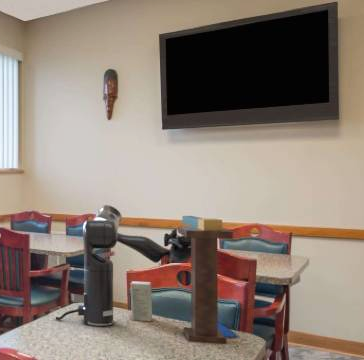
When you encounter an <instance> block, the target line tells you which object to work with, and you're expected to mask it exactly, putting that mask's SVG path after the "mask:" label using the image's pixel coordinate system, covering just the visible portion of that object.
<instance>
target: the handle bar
mask: <svg viewBox="0 0 364 360" xmlns="http://www.w3.org/2000/svg"><path fill="white" fill-rule="evenodd" d="M181 218H182V221H181V223H182V224H183V225H185V226H193V227H197V228H198V229H201V230H206V231H222V228H223V220H222V219H219V218H203V217H198V216H193V215H182V217H181Z"/></svg>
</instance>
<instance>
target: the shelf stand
mask: <svg viewBox="0 0 364 360" xmlns="http://www.w3.org/2000/svg"><path fill="white" fill-rule="evenodd" d="M177 234H180V236H185V237H186V238H191V258H190V327H187V326H186V327H185V326H184V327H183V328H182V329H183V330H182V331H183V332H182V333H183V334H184V336H185V338H186V339H187V340H188V342H200V343H214V344H215V343H216V344H227V337H225V336H224V335H223V334H222V332H221V331H220V330H219V329H218V322H219V321H218V320H219V315H218V314H219V313H218V311H219V309H218V308H219V307H218V305H219V302H218V301H219V300H218V299H219V298H218V293H219V291H218V287H219V285H218V281H219V280H218V275H219V274H218V269H219V268H218V261H219V259H218V255H219V254H218V250H219V249H218V242H219V241H218V239H221V240H222V239H223V240H227V239H228V240H233V239H234V232H233V230H230V229H227V228H224V227H222V231H206V230H201V229H198V228H197V227H193V226H190V225H178V226H177Z"/></svg>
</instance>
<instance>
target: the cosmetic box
mask: <svg viewBox="0 0 364 360" xmlns="http://www.w3.org/2000/svg"><path fill="white" fill-rule="evenodd" d="M152 299H153V298H152V282H151V281H136V280H133V281H131V282H130V304H131V306H130V307H131V310H130V311H131V320H132V321H142V322H152V320H153V302H152V301H153V300H152Z"/></svg>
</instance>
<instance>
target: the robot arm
mask: <svg viewBox="0 0 364 360" xmlns="http://www.w3.org/2000/svg"><path fill="white" fill-rule="evenodd" d="M122 218H123V215H122V214H121V212H120V210H118V209H117V208H116V207H114V206H112V205H108V204H105V205H103V206H102V207H100V209H99V210H98V212H97V213H96V214H95V216H94V218H93V219H87V220H85V221H84V222H83V226H82V239H83V240H82V241H83V305H78V306H77V308H76V309H73V310H68V311H66V312H64V313H63V314H62V315H61V316H55V320H57V321H61V320H62V319H64V318H65V317H66V316H67V315H70V314H76V313H77V315H78V316H80V317H81V316H82V317H83V325H89V326H94V327H108V326H109V327H110V326H112V325H113V324H114V263H113V261H112V260H111V259H109V258H106V257H103V256H102V255H99V254H98V253H97V252H96V251H95V249H97V250H100V249H101V250H110V249H113V248H115V246H116V245H117V243H120V244H122V245H124V246H125V247H128V248H130V249H131V250H133V251H136V252H137V253H139V254H141V256H143V257H145V258H146V259H148V260H149V261H151V262H153V263H154V264H157V263H159V262H160V261H161V260H162V259H163V258H167V259H166V261H165V264H169V263H189V261H190V260H191V238H186V237H185V236H183V235H179V233H178V228H174V229H173V230H171V232H170V234H169V233H164V236H163V246H161V244H159V243H158V242H156V241H154V240H152V239H151V238H149V237H147V236H142V235H131V234H129V235H127V234H123V233H119V224H120V223H121V222H122ZM170 245H171V246H170ZM169 246H170V248H169V249H168V248H166V247H169ZM165 264H164V265H165Z"/></svg>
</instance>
